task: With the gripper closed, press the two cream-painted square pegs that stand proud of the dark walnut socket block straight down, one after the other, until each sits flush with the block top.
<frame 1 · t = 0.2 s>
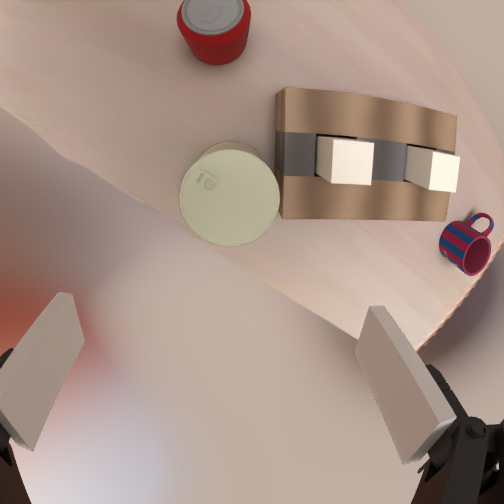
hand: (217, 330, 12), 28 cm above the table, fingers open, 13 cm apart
socket block: (358, 152, 37), on the table
can: (230, 177, 38), on the table
peg 1: (340, 158, 29), point 9 cm above the table, slide at 5.0 cm
peg 2: (427, 166, 29), point 9 cm above the table, slide at 5.0 cm
beverage can: (218, 42, 30), on the table
mug: (458, 231, 43), on the table
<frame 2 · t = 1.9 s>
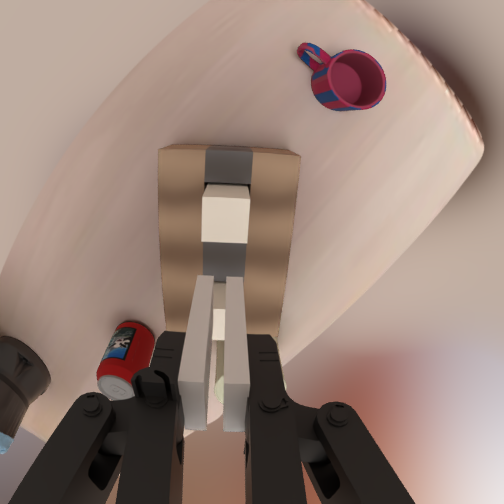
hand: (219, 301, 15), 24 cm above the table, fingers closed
socket block: (225, 232, 39), on the table
can: (246, 334, 46), on the table
peg 1: (222, 306, 33), point 8 cm above the table, slide at 5.0 cm
peg 2: (226, 209, 29), point 8 cm above the table, slide at 5.0 cm
beverage can: (136, 334, 45), on the table
mug: (326, 76, 32), on the table
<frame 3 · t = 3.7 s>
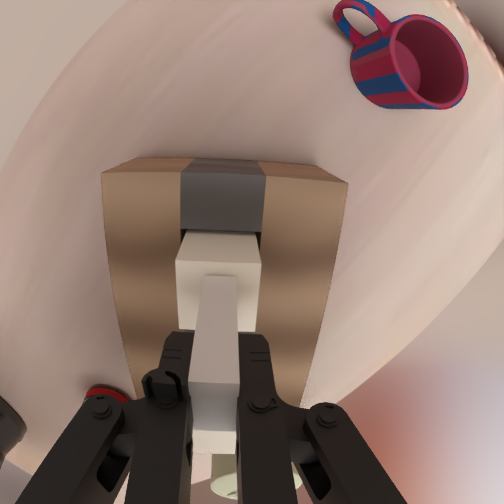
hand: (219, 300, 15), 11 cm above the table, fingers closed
socket block: (220, 287, 27), on the table
can: (249, 403, 34), on the table
peg 1: (217, 404, 21), point 9 cm above the table, slide at 5.0 cm
peg 2: (219, 267, 18), point 7 cm above the table, slide at 3.5 cm, touching gripper
mug: (371, 57, 19), on the table
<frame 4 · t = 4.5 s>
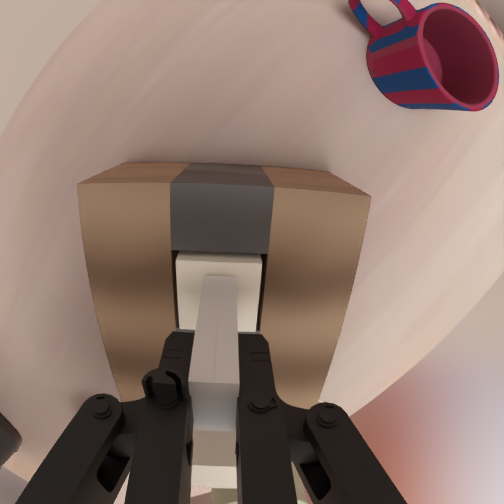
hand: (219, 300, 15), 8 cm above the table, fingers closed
socket block: (220, 306, 24), on the table
can: (251, 423, 31), on the table
peg 1: (217, 436, 18), point 9 cm above the table, slide at 5.0 cm
peg 2: (220, 266, 18), point 4 cm above the table, slide at 0.5 cm, touching gripper
mug: (389, 50, 17), on the table
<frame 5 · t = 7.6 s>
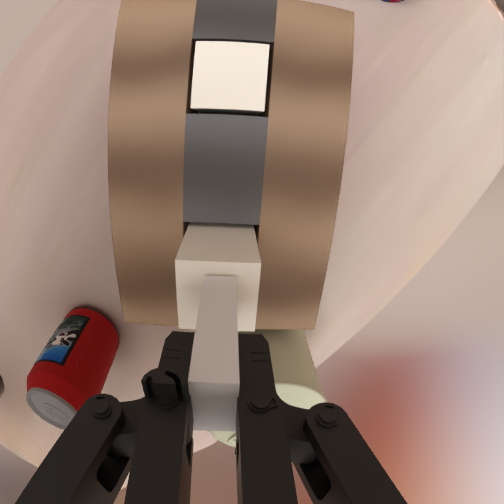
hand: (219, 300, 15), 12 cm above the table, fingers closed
socket block: (226, 157, 23), on the table
can: (256, 328, 30), on the table
peg 1: (219, 266, 18), point 8 cm above the table, slide at 4.7 cm, touching gripper
peg 2: (230, 82, 18), point 4 cm above the table, slide at 0.4 cm
beverage can: (94, 328, 29), on the table
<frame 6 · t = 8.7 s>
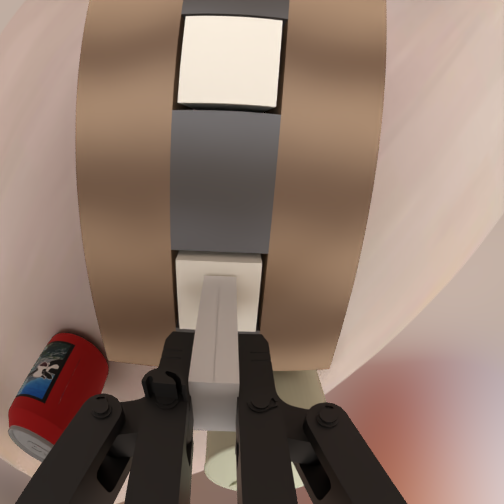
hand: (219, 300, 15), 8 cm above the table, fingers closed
socket block: (225, 163, 19), on the table
can: (260, 356, 27), on the table
peg 1: (220, 266, 18), point 4 cm above the table, slide at 0.4 cm, touching gripper
peg 2: (230, 71, 14), point 4 cm above the table, slide at 0.4 cm
beverage can: (81, 353, 26), on the table
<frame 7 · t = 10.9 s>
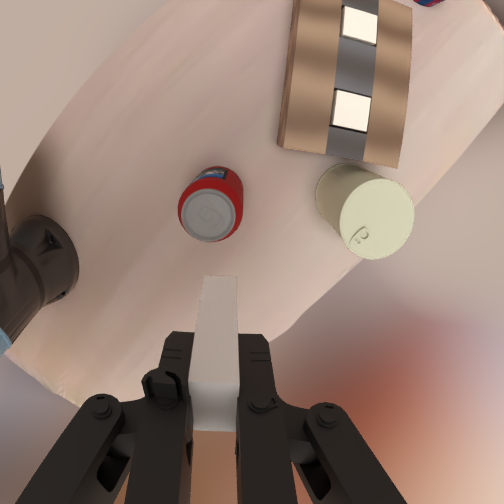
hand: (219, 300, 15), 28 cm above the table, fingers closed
socket block: (338, 74, 34), on the table
can: (346, 194, 41), on the table
peg 1: (342, 111, 33), point 4 cm above the table, slide at 0.4 cm
peg 2: (351, 31, 28), point 4 cm above the table, slide at 0.4 cm
beverage can: (218, 189, 40), on the table
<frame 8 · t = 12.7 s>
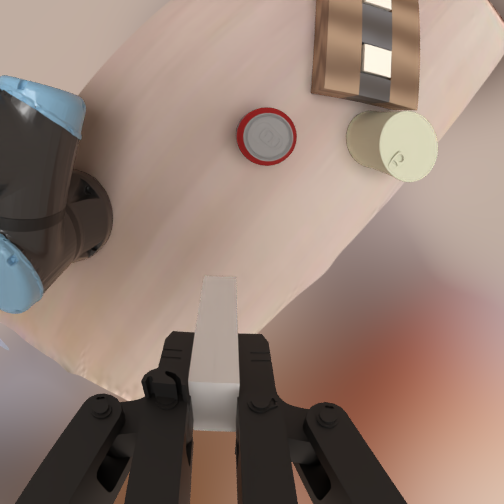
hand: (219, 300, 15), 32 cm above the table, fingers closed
socket block: (358, 37, 36), on the table
can: (372, 139, 43), on the table
peg 1: (367, 64, 34), point 4 cm above the table, slide at 0.4 cm
peg 2: (368, 1, 30), point 4 cm above the table, slide at 0.4 cm
beverage can: (259, 133, 42), on the table
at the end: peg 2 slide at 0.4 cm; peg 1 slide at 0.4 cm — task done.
